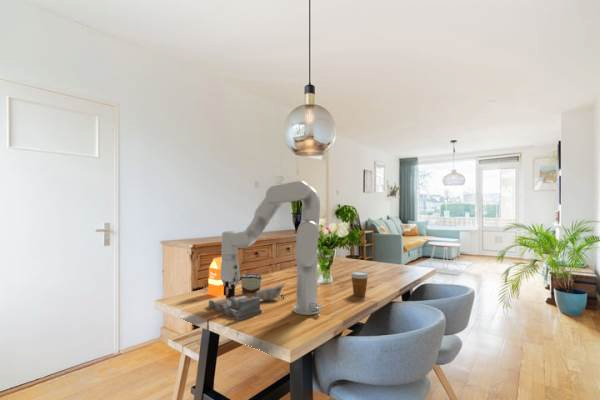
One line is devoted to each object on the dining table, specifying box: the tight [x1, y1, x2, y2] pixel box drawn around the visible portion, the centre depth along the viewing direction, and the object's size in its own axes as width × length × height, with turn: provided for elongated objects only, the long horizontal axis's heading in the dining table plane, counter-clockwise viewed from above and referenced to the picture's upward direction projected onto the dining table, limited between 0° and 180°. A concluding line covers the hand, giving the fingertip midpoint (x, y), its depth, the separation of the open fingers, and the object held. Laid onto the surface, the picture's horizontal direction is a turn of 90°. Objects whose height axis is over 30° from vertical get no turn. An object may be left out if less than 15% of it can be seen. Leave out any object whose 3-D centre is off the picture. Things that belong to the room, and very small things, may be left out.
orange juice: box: [208, 256, 224, 298], centre depth 167 cm, size 8×9×20 cm
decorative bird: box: [253, 284, 285, 301], centre depth 156 cm, size 5×16×8 cm, turn 112°
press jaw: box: [225, 286, 249, 310], centre depth 142 cm, size 10×9×8 cm
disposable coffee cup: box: [350, 270, 369, 297], centre depth 167 cm, size 10×10×12 cm
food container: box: [240, 273, 263, 295], centre depth 170 cm, size 12×6×10 cm, turn 84°
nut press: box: [208, 296, 263, 321], centre depth 142 cm, size 25×12×8 cm, turn 47°
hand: (229, 295), depth 145 cm, fingers closed on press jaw, 3 cm apart
